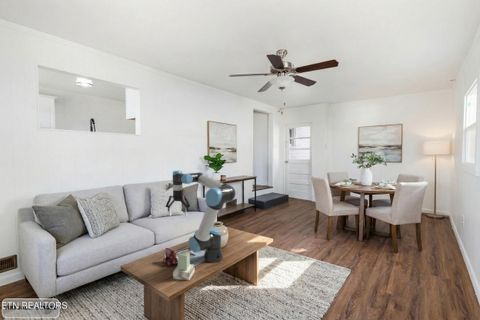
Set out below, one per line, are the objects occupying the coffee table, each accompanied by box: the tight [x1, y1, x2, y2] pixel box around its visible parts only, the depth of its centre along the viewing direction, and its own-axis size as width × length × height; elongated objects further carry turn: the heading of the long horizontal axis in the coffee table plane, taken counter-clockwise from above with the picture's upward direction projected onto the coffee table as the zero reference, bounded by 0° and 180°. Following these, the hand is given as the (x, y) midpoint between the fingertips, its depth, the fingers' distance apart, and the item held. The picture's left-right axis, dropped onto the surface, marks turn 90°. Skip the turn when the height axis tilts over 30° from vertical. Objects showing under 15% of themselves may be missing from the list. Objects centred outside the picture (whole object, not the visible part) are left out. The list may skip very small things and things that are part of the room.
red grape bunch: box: [162, 247, 178, 267], centre depth 175 cm, size 7×12×10 cm, turn 49°
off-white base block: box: [172, 263, 196, 281], centre depth 158 cm, size 11×11×5 cm
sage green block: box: [177, 250, 191, 270], centre depth 158 cm, size 6×6×10 cm
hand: (178, 215), depth 190 cm, fingers open, 13 cm apart
